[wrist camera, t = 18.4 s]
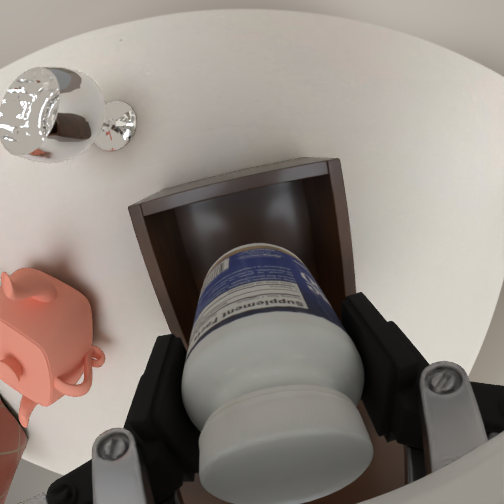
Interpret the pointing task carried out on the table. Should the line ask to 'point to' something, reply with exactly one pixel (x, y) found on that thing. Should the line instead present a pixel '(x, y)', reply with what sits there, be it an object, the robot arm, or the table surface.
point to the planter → (9, 449)
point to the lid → (345, 500)
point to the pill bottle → (272, 383)
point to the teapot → (44, 339)
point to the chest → (245, 230)
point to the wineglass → (61, 116)
